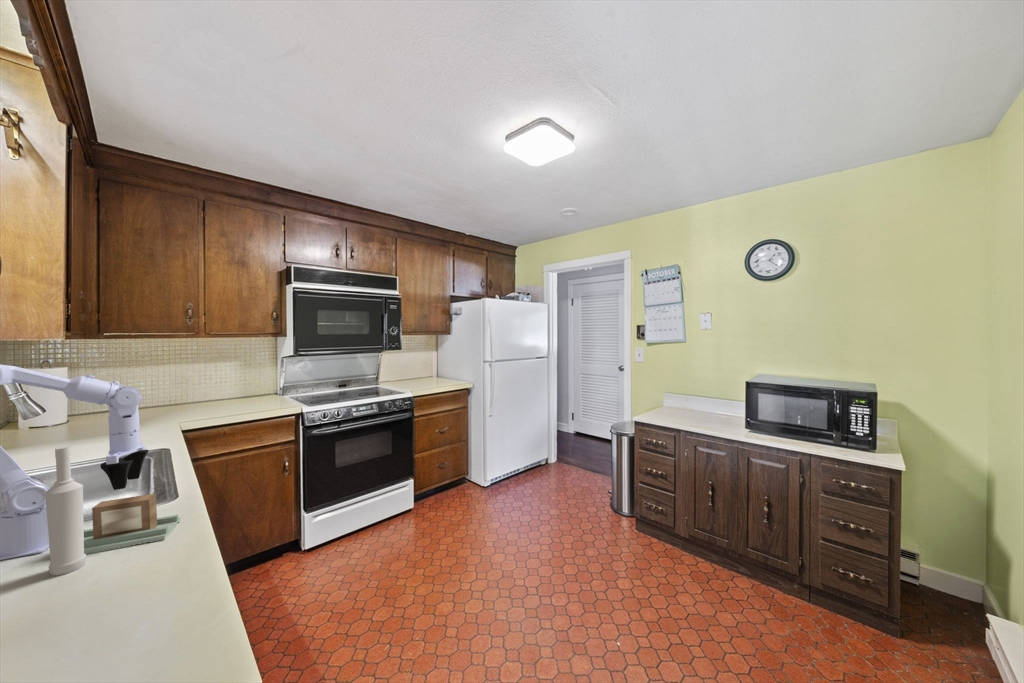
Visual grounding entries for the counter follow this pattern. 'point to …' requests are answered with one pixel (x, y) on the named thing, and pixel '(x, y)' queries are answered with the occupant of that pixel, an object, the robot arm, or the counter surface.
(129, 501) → the picture frame
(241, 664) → the counter surface
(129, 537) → the picture ledge
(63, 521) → the bottle
